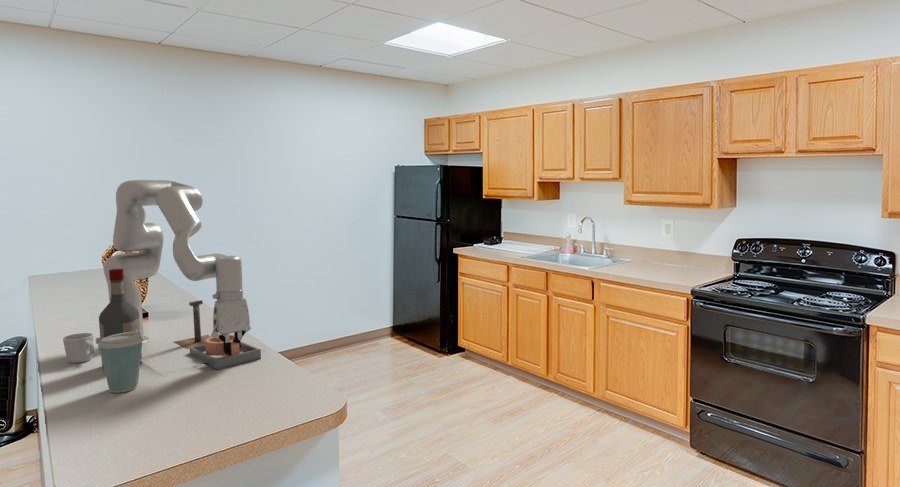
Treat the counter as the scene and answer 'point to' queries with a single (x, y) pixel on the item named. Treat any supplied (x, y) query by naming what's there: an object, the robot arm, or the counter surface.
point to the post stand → (197, 330)
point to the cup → (79, 347)
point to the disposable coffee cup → (121, 360)
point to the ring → (220, 346)
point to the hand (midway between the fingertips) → (232, 352)
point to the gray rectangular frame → (227, 361)
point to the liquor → (118, 310)
